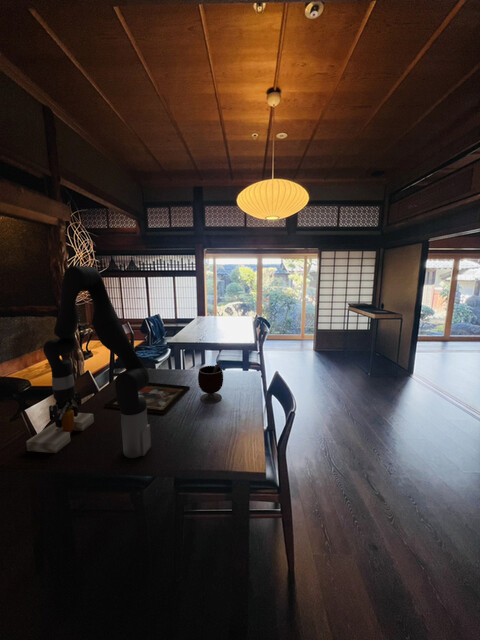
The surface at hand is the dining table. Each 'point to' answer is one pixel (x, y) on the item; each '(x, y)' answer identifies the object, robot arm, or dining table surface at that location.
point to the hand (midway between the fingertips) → (67, 421)
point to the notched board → (57, 435)
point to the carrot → (68, 420)
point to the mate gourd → (210, 383)
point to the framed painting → (157, 397)
